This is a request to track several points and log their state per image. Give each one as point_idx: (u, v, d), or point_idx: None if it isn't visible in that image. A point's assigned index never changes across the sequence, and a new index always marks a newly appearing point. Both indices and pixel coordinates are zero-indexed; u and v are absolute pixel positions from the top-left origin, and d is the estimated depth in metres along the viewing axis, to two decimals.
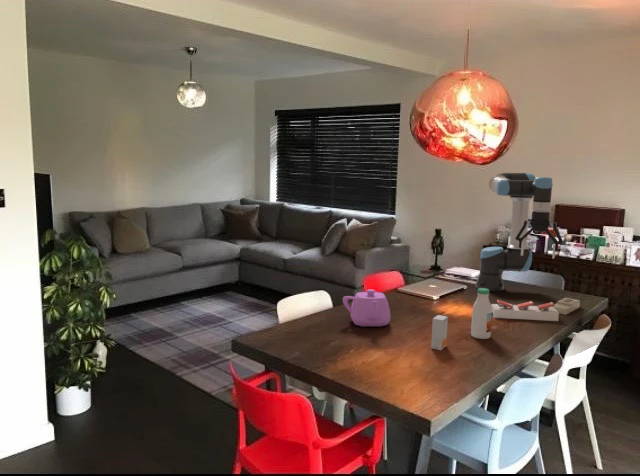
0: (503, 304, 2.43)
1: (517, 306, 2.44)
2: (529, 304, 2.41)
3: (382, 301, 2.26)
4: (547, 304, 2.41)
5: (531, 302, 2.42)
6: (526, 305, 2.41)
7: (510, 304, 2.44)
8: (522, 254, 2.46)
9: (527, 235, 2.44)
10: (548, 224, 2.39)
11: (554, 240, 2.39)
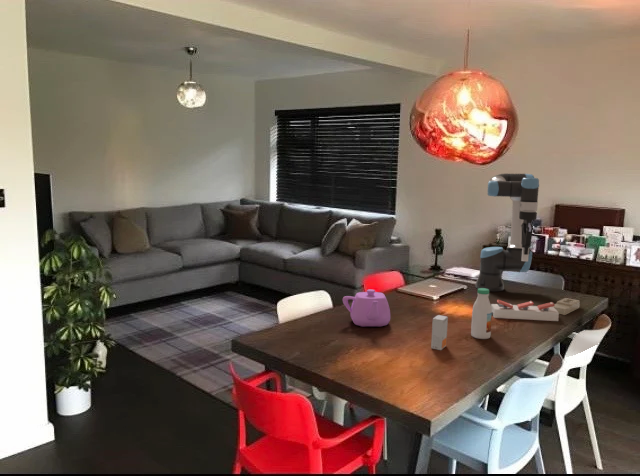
0: (503, 304, 2.43)
1: (517, 306, 2.44)
2: (529, 304, 2.41)
3: (382, 301, 2.26)
4: (547, 304, 2.41)
5: (531, 302, 2.42)
6: (526, 305, 2.41)
7: (510, 304, 2.44)
8: (521, 259, 2.49)
9: (523, 237, 2.48)
10: (526, 225, 2.43)
11: (524, 243, 2.46)
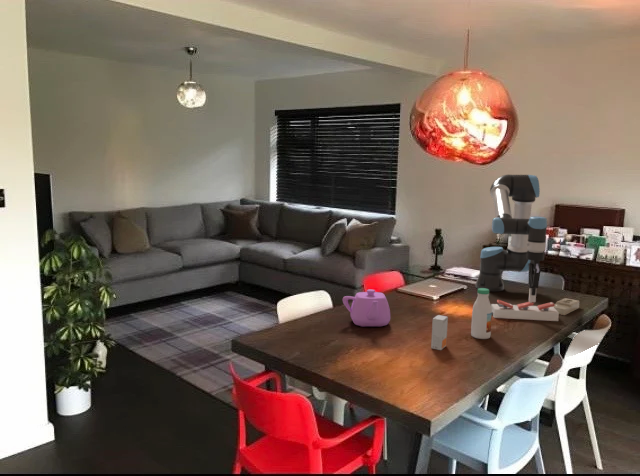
0: (503, 304, 2.43)
1: (517, 306, 2.44)
2: (529, 304, 2.41)
3: (382, 301, 2.26)
4: (547, 304, 2.41)
5: (531, 302, 2.42)
6: (526, 305, 2.41)
7: (510, 304, 2.44)
8: (529, 300, 2.42)
9: (530, 277, 2.41)
10: (534, 265, 2.36)
11: (531, 283, 2.40)
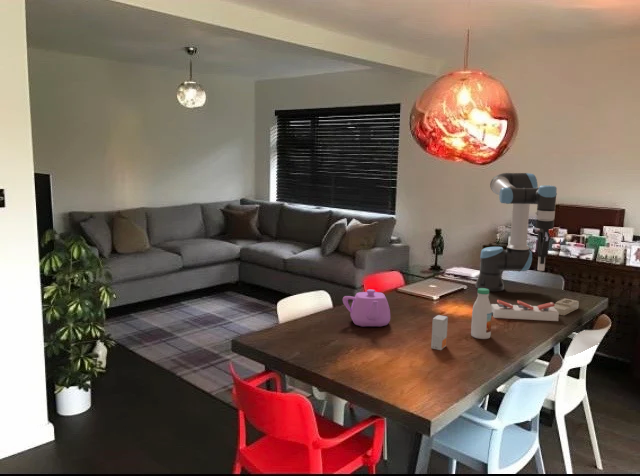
0: (503, 304, 2.43)
1: (517, 301, 2.44)
2: (529, 306, 2.41)
3: (382, 301, 2.26)
4: (547, 304, 2.41)
5: (532, 306, 2.42)
6: (526, 305, 2.41)
7: (510, 304, 2.44)
8: (537, 268, 2.44)
9: (539, 246, 2.43)
10: (543, 234, 2.38)
11: (540, 252, 2.41)
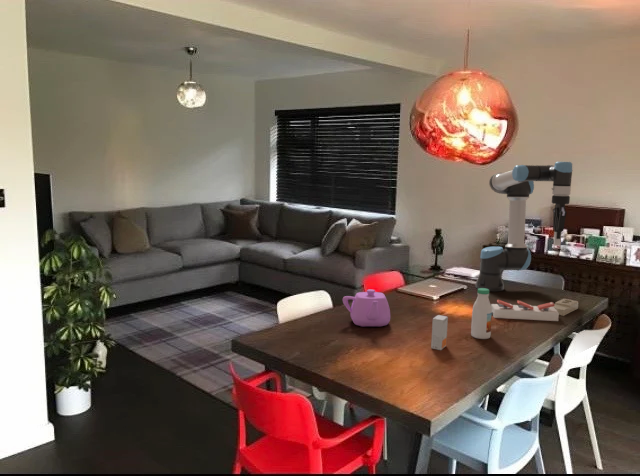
0: (503, 304, 2.43)
1: (517, 301, 2.44)
2: (529, 306, 2.41)
3: (382, 301, 2.26)
4: (547, 304, 2.41)
5: (532, 306, 2.42)
6: (526, 305, 2.41)
7: (510, 304, 2.44)
8: (554, 244, 2.48)
9: (555, 222, 2.47)
10: (560, 209, 2.42)
11: (556, 227, 2.46)
